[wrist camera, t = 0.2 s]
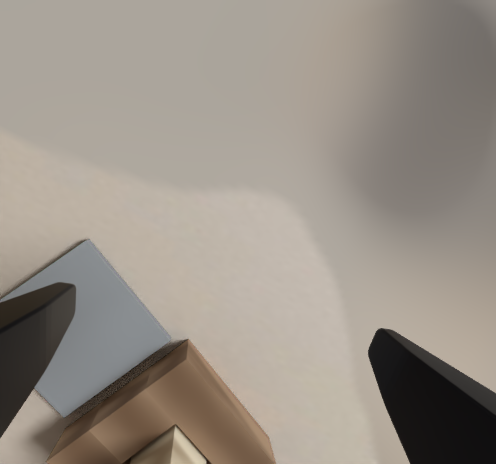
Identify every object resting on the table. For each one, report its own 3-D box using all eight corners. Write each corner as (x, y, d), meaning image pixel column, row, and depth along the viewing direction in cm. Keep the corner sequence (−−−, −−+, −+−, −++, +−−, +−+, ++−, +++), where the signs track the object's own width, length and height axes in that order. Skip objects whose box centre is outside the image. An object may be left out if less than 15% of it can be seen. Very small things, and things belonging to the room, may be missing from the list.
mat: (67, 412, 24) (63, 418, 23) (-26, 318, 22) (-32, 321, 21) (171, 337, 24) (170, 341, 23) (89, 239, 22) (86, 240, 22)
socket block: (158, 521, 26) (152, 562, 23) (65, 428, 24) (45, 461, 21) (268, 437, 27) (277, 467, 24) (188, 339, 24) (186, 359, 21)
